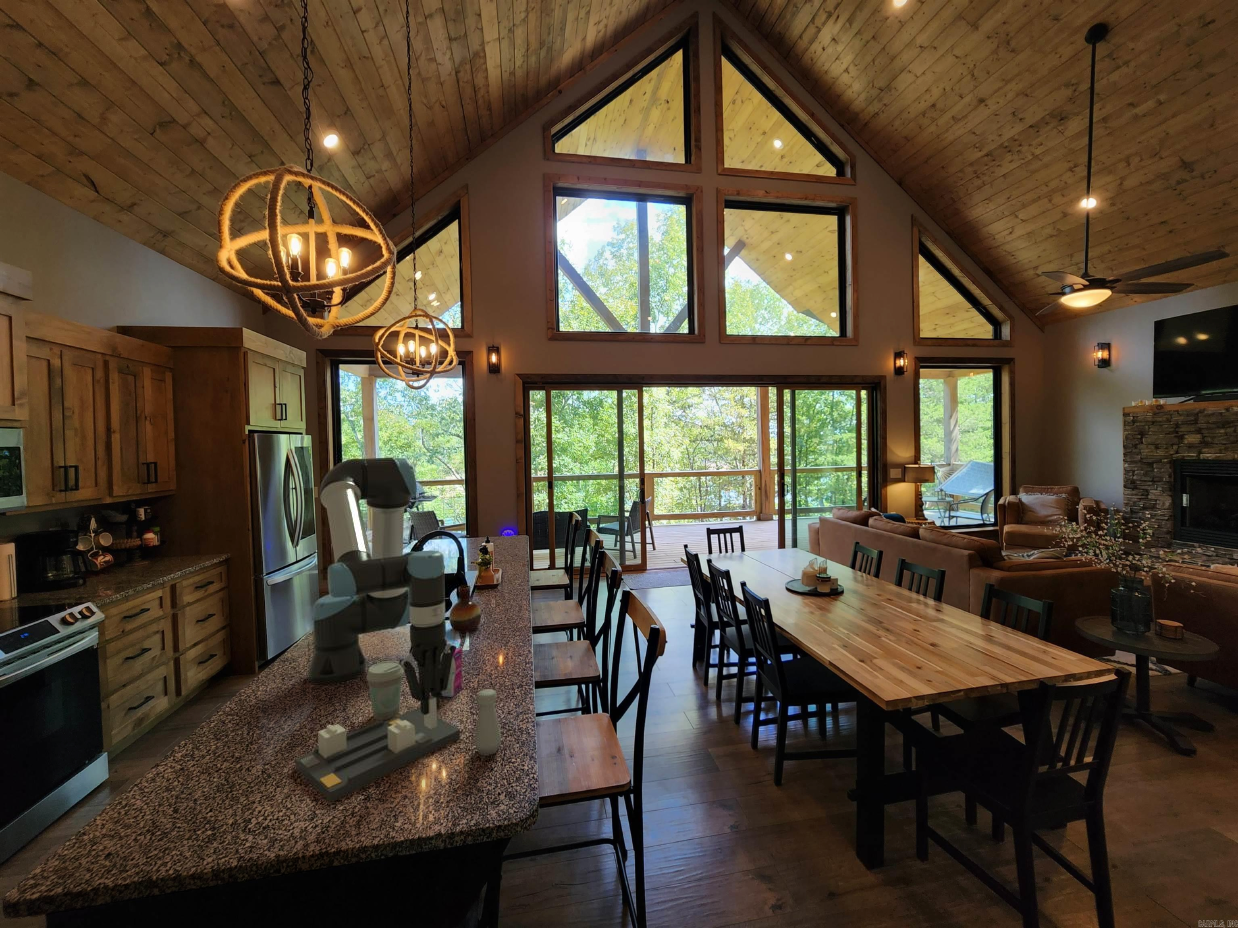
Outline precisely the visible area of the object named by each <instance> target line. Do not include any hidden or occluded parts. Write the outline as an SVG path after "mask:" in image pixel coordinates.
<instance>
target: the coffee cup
mask: <svg viewBox="0 0 1238 928" xmlns="http://www.w3.org/2000/svg"><path fill="white" fill-rule="evenodd" d="M403 674H405V672H404V669H403V668H402V666H401V665H400V664H399V661H397V660H386V661H381V662H378V663H375V664H373V665H371V666H370V667H369V668H368V671H367V673H366V677H365V678H366V680H367V683H368V689H369V697H370V702H371V707H372V714H373V716H372V717H373V718H374V719H375V720H377V721H380V720H383V721H388V720H390V719H393V718H395V717H397V715H398V716H399V713H400V707H401V706H400V705H401V693H402V684H403Z"/></svg>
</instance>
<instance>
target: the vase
mask: <svg viewBox="0 0 1238 928" xmlns="http://www.w3.org/2000/svg"><path fill="white" fill-rule="evenodd" d="M458 594H459V596H458V597H459V601H457V602H456V603H455V604H454V605H453V606H452V607H451V609H450V611H449V616H448V619H449V624H450V627H451V628H452V630H453V631H454V632H457V633H469V632H473V631H475V630H476V629H477V628H478V626H479V625H480V623H481V619H482V618H481V617H482V611H481V609H480V607H479V605H478V603H476V602H475V601H473V600H471V586H470V585H460V586H459V587H458Z"/></svg>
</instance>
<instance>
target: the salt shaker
mask: <svg viewBox="0 0 1238 928" xmlns="http://www.w3.org/2000/svg"><path fill="white" fill-rule="evenodd" d="M497 698H498V695H497V692H496V691H495V690H494V689H491V688H489V689H488V688H485V689H482V690H480V691H479V692H477V694H476V703H477V705H478V706H479V707H478V714H477V721H476V726H475V732H474V739H473V744H474V746H475V748H476V750H477V753H478V754H479V755H481V756H484V757H485V756H490V755H493V754H496V752H497V750H498V749H499V746H500V744H501V741H502V732H501V730H500V724H499V718H498V715H497V708H496V705H495V703H496V702H497V700H498V699H497Z"/></svg>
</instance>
